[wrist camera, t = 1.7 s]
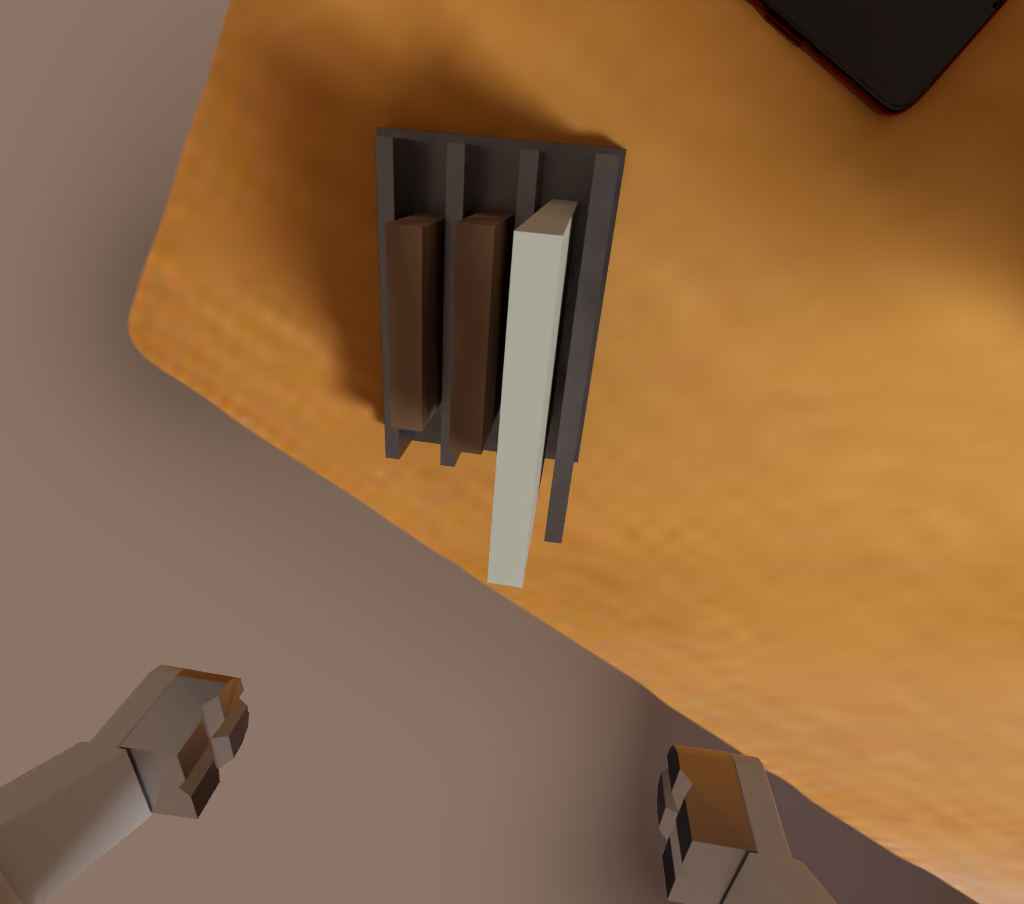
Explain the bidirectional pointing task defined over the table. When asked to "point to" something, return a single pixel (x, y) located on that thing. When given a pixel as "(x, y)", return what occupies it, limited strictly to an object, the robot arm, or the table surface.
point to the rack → (522, 190)
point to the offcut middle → (479, 325)
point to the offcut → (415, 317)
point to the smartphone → (881, 41)
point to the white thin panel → (529, 380)
